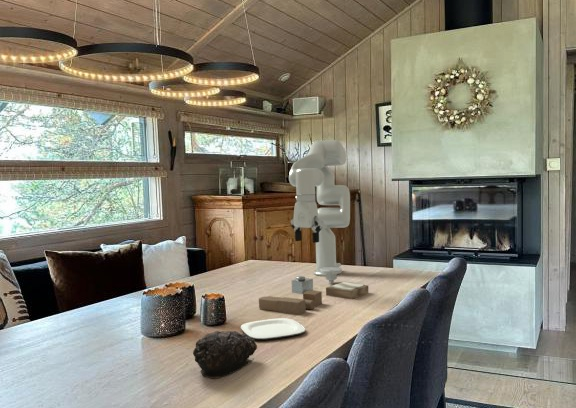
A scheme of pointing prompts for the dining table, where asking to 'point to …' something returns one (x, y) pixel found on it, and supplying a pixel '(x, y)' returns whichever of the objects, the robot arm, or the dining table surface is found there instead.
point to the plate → (272, 328)
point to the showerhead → (331, 273)
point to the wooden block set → (291, 303)
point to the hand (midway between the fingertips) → (307, 241)
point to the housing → (302, 285)
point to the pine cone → (223, 353)
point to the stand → (347, 290)
